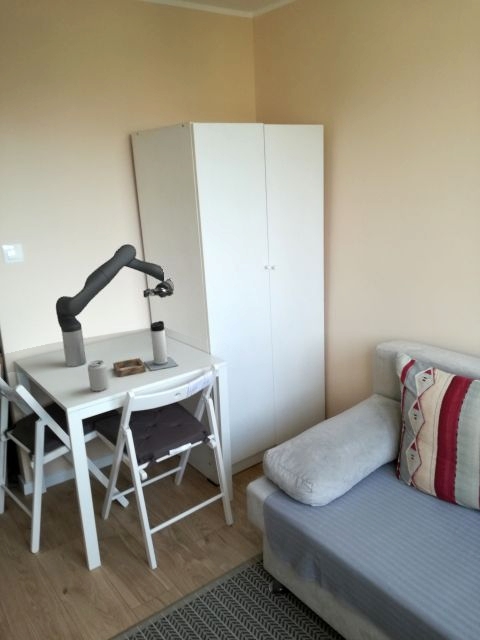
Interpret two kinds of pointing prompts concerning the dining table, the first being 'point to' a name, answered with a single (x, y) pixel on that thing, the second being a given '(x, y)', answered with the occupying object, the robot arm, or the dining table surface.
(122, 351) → the dining table surface
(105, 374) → the can
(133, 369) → the frame
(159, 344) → the travel mug
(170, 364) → the rubber mat
